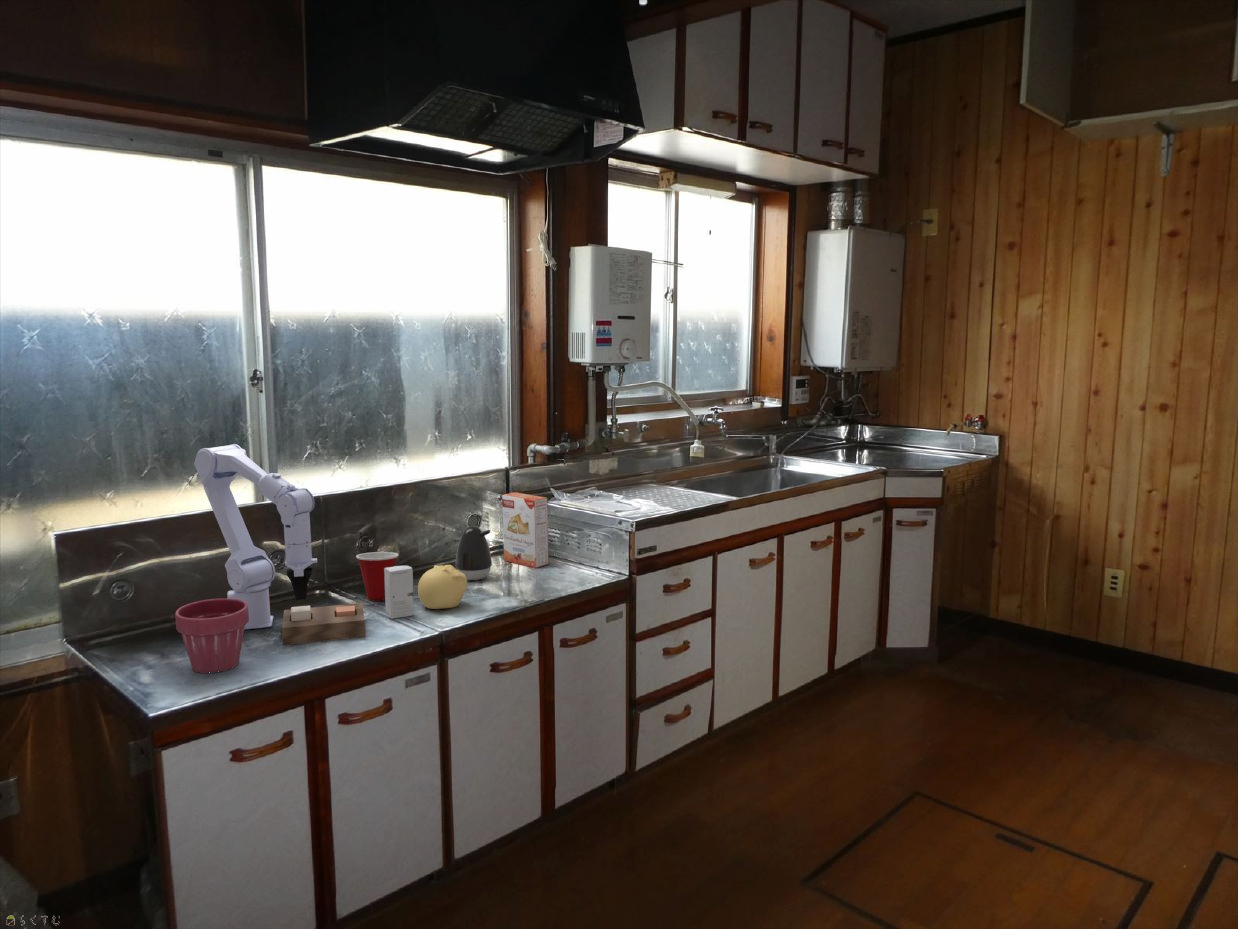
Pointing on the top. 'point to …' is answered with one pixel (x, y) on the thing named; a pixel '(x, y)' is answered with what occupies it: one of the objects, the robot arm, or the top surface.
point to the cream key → (300, 613)
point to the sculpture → (442, 587)
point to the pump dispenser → (473, 554)
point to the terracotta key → (345, 611)
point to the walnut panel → (323, 625)
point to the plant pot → (213, 632)
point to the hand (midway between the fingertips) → (301, 599)
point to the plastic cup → (375, 572)
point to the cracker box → (525, 529)
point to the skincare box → (399, 591)
